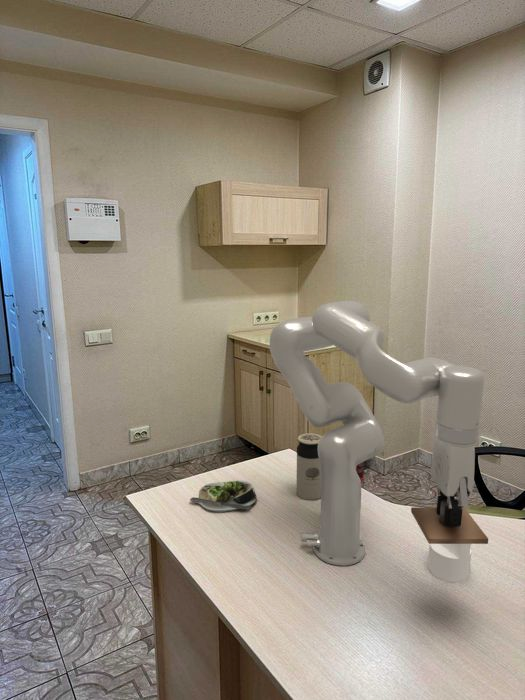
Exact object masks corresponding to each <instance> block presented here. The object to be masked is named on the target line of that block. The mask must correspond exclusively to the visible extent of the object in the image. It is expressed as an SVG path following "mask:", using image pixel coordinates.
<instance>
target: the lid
mask: <svg viewBox="0 0 525 700" xmlns="http://www.w3.org/2000/svg"><path fill="white" fill-rule="evenodd" d="M445 506H447V500H442V501H441V507H440V515H438V514H437V513H436V510H437V506H436V507H434V506H433V507H432V506H431V507H425V506H424V507H421V506H420V507H419V506H418V507H417V506H414V507H413V506H412V507H410V512H411V514H412V516H413V518H414V520H415V521H416V524H417V525H418V527H419V529H420V531H421V532H422V534H423V536H424V538H425V539H426V541H427V543H428V544H429V545H430V544H471V545H476V544H477V545H488V544H489V537H488V536H487V535H486V534H485V532H484V531H483V530H482V529H481V527H480V526H479V524H478V523H477V522H476V521H475V519H474V518H473V517H472V515H471V514H470V513H469V511H468V509H466V508H465V507H464V509H463V510H462V519H461V526H459V527H455V526H444V524H443V521H444V510H445Z"/></svg>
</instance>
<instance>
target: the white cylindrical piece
mask: <svg viewBox="0 0 525 700" xmlns="http://www.w3.org/2000/svg"><path fill="white" fill-rule="evenodd" d="M471 545H472V544H429V546H428V547H429V548H428V562H427V569H428V571H429V573H431V574H432V575H433V576H434V577H435V578H438V579H440V580H441V581H445V582H448V583H453V584H454V583H462V582H463V583H464V582H465V581H466V580H468V579H469V578H470V573H471V572H470V571H471V562H472V547H471Z"/></svg>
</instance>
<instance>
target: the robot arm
mask: <svg viewBox="0 0 525 700" xmlns="http://www.w3.org/2000/svg"><path fill="white" fill-rule="evenodd" d="M370 316H371V315H370V313H369V311H368V309H367V308H366V306H365V305H364V304H363V303H362V302H359V301H356V300H342V301H333V302H328V303H324V304H322V305H321V306H319V307H318V308H316V310H315V311H314V312H313V314H312V316H304V317H295V318H291V319H286V320H284V321H281V322H279V323H278V324H276V325H275V326H274V327H273V329H272V331H271V333H270V334H269V335H270V336H269V343H268V345H269V352H270V355H271V358H272V360H273V363H274V365H275V366H276V368H277V369H278V370H279V372H280V374H281V375H282V376H283V377H284V379H285V380H286V382H287V384H288V385H289V387H290V389H291V391H292V393H293V395H294V398H295V399H296V401H297V403H298V405H299V407H300V409H301V411H302V412H303V414H304V416H305V418H306V420H307V421H308V423H309V424H310V425H311V426H313V427H314V428H315V427H316V428H325V427H329V426H332V425H334V424H338V423H340V422H341V423H342V425H341V426H338V427H335V428H333V429H331V430H329V431H327V432H325V433H324V434H323V435H321V436H322V437H321V439H320V441H319V443H318V457H319V462H320V469H321V497H320V516H319V517H320V522H319V523H320V524H319V527H317V530H316V531H313V533H308V532H303V533H300V540H301V542H306V545H307V546H306V547H312V548H313V552H314V554H315V555H316V556H317V557H318V558H319V559H320V560H322V561H323V562H325V563H328V564H330V565H335V566H343V567H344V566H352V565H354V564H355V565H356V564H358V563H359V562H361V561H362V560H363V559H364V557H365V556H366V546H365V543H364V542H363V541H362V540H361V539H360V534H361V533H360V529H361V528H360V527H361V511H362V510H361V507H362V506H361V505H362V484H361V481H360V478H359V476H358V474H357V472H356V466H357V465H358V464H360V463H362V462H364V463H365V462H366V461H369V460H370V459H373V458H375V457H377V456H378V455H379V454H380V453H381V452H382V451H383V449H384V447H385V436H384V433H383V430H382V428H381V426H380V424H379V422H378V421H377V419H376V417H375V416H374V414H373V412H372V410H371V408H370V406H369V404H368V403H367V402H366V399H365V398H364V396H363V394H362V393H361V392H360V390H359V389H358V388H357V387H355V386H354V385H353V384H351V383H350V382H347V381H339V382H334V383H328V381H327V379H326V378H325V377H324V375H323V373H322V371H321V369H320V368H319V367H318V365H317V364H316V363H315V362H314V361H313V360H311V359H310V358H308V357H307V356H306V355H305V354H304V352H309V351H316V350H320V349H325V348H328V347H332V346H334V347H336V348H337V349H339V350H340V351H342V352H343V353H345V354H346V355H348V356H350V357H351V358H352V359H354V360H355V361H356V362H357V365H358V367H359V370H360V372H361V374H362V375H363V377H364V379H366V381H367V382H368V383H369V384H370V385H371V386H372V387H374V388H375V389H377V390H378V391H379V392H381V393H383V394H384V395H386V396H387V397H388V398H391V400H394V401H396V402H399V403H401V404H402V403H403V404H414V403H416V402H420V401H423V400H424V399H428V398H432V397H434V398H435V397H437V398H438V399H437V408H436V409H437V410H436V423H435V431H434V432H435V433H434V437H435V438H434V442H433V448H432V453H431V455H432V456H431V463H430V471H429V472H430V476H431V478H432V480H433V482H434V483H435V485H437V494H438V495H437V501H436V507H437V510H436V513H437V514H438V515H440V507H441V501H442V500H447V506H445V510H444V521H443V524H444V526H455V527H459V526H461V519H462V510H463V509H464V508H465V507H469V497H471V496H472V494H473V488H474V482H475V481H474V480H475V465H476V464H475V463H476V462H475V461H476V460H475V459H476V453H475V451H476V449H475V447H476V445H478V442H479V432H480V426H481V425H480V424H481V423H480V422H481V416H482V415H481V413H482V405H483V395H484V386H485V376H484V373H483V372H482V371H481V370H479V369H478V368H475V367H471V366H466V365H457V364H454V363H451V362H449V361H447V360H445V359H441V358H438V357H432V356H431V357H429V356H428V357H424V358H420V359H416V360H412V361H409V362H405V363H403V362H402V361H399V360H398V359H396V358H395V357H392V356H391V355H389V354H388V353H386V352H385V351H384V350H383V349H382V347H383V345H384V339H385V335H384V331H383V330H382V328H381V327H380V326H379V325H376V324H374V323H372V322H371V317H370ZM457 497H458V499H457Z"/></svg>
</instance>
